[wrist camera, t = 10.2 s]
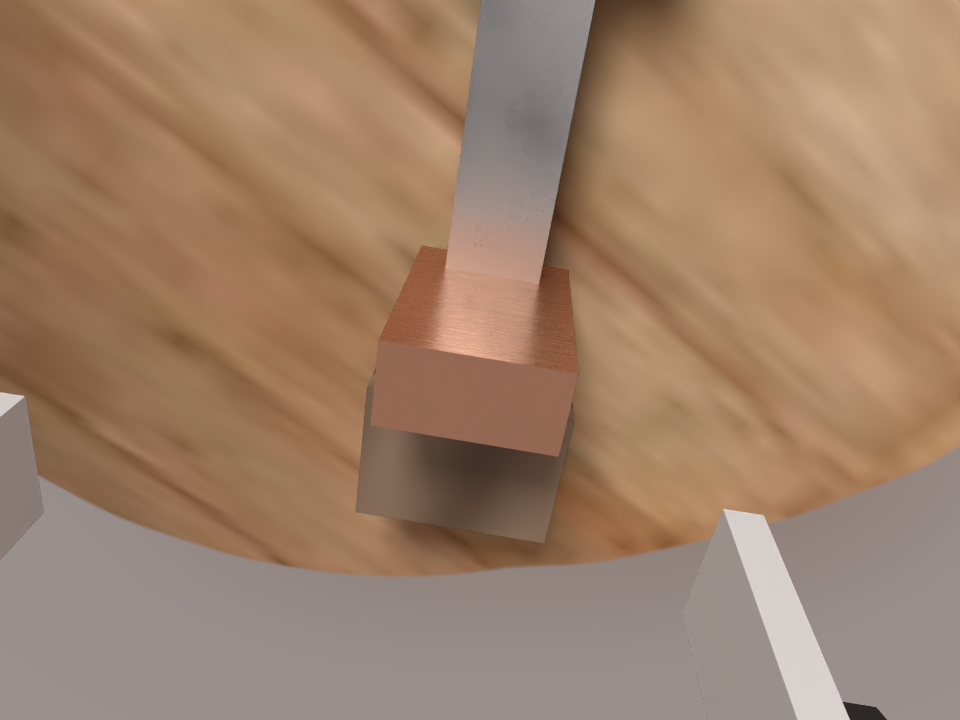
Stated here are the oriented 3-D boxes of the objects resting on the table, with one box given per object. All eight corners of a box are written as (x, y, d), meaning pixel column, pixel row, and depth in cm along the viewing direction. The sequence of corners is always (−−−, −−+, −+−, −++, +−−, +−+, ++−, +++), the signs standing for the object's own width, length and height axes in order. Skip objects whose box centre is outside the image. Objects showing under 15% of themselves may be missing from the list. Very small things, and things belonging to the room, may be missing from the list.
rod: (408, 386, 35) (359, 535, 25) (506, -424, 22) (481, -730, 13) (534, 407, 35) (532, 564, 25) (705, -391, 22) (828, -671, 13)
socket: (383, 432, 37) (355, 512, 31) (395, 322, 34) (366, 388, 28) (543, 459, 37) (544, 543, 31) (568, 351, 34) (574, 422, 28)
